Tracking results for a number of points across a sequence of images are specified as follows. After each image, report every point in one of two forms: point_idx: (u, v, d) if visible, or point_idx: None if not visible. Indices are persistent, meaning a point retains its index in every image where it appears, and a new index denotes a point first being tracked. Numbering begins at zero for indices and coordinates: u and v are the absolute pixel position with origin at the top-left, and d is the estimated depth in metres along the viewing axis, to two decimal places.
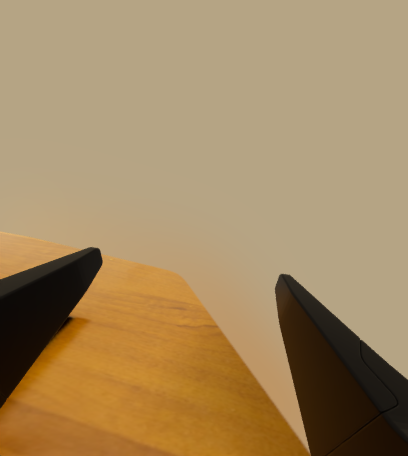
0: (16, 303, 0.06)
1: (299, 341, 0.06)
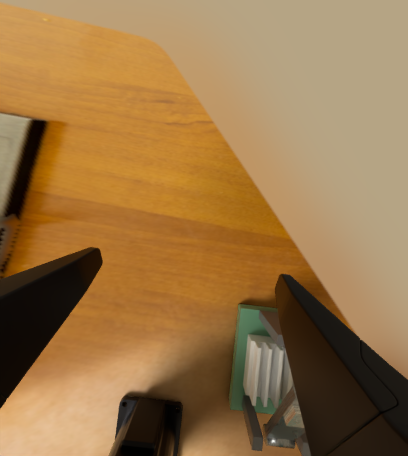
0: (16, 303, 0.06)
1: (299, 341, 0.06)
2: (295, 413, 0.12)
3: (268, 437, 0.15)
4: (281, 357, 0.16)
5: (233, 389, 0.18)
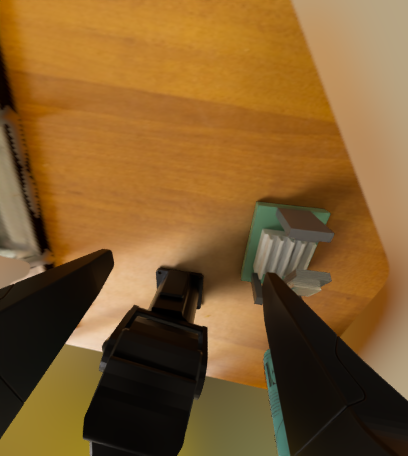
0: (34, 306, 0.06)
1: (280, 338, 0.06)
2: (293, 286, 0.14)
3: None
4: (291, 247, 0.17)
5: (244, 268, 0.22)
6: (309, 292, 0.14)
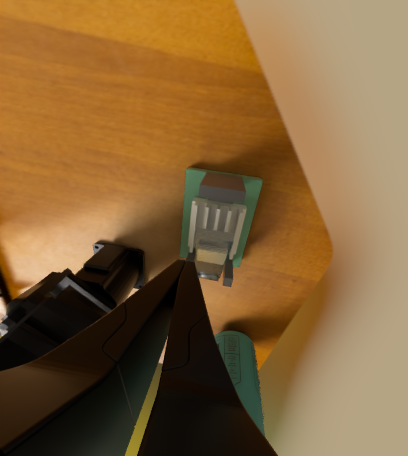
0: (151, 326, 0.05)
1: None
2: (198, 249, 0.12)
3: None
4: (217, 215, 0.16)
5: (181, 243, 0.20)
6: (219, 258, 0.13)
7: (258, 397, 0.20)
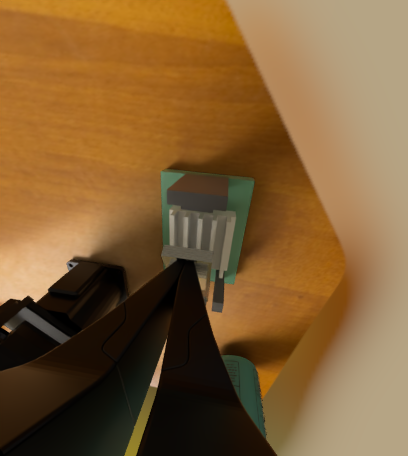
0: (150, 326, 0.05)
1: None
2: None
3: None
4: (199, 226, 0.13)
5: None
6: None
7: None
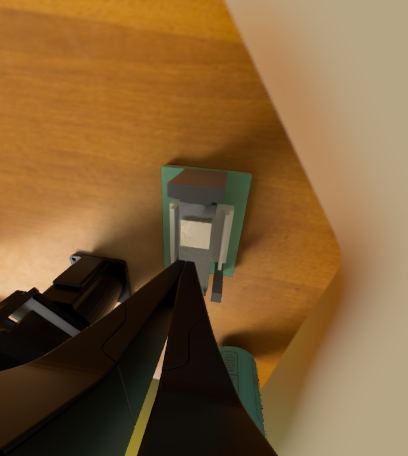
0: (151, 326, 0.05)
1: None
2: (181, 220, 0.12)
3: None
4: None
5: (164, 252, 0.18)
6: (203, 236, 0.12)
7: (260, 427, 0.18)
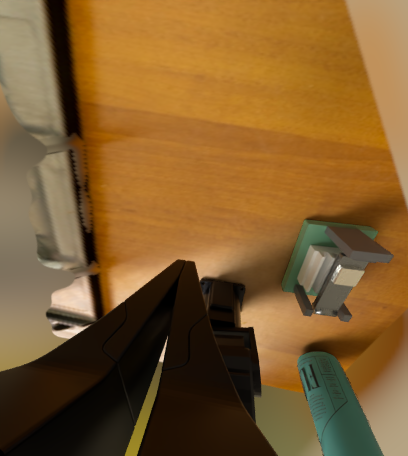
0: (151, 326, 0.05)
1: None
2: (342, 268, 0.17)
3: (317, 307, 0.20)
4: None
5: (288, 280, 0.23)
6: (355, 278, 0.17)
7: (364, 415, 0.23)
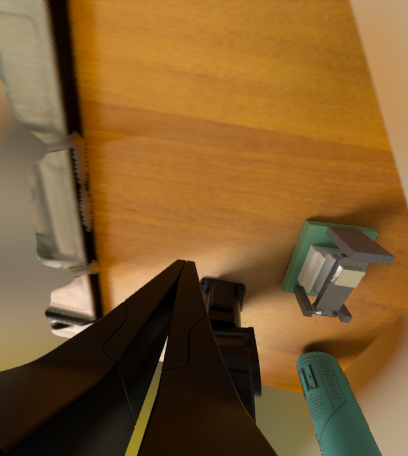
0: (151, 326, 0.05)
1: None
2: (343, 269, 0.17)
3: (317, 307, 0.20)
4: None
5: (288, 280, 0.23)
6: (356, 279, 0.18)
7: None
